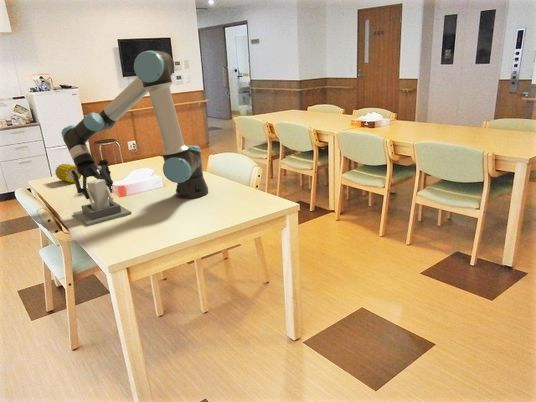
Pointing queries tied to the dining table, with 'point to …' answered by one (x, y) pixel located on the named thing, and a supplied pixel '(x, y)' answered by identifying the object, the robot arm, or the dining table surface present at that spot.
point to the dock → (100, 213)
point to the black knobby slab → (105, 163)
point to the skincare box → (99, 194)
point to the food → (66, 172)
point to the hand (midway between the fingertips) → (102, 202)
